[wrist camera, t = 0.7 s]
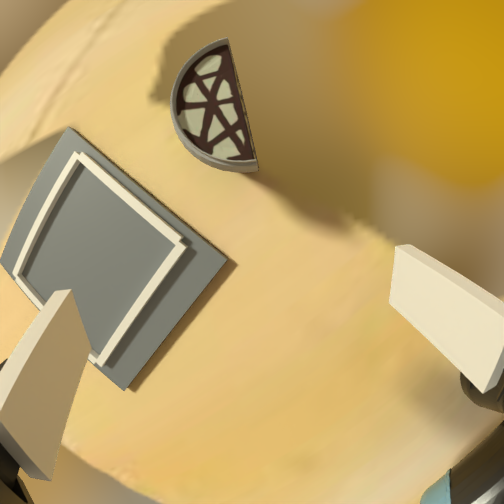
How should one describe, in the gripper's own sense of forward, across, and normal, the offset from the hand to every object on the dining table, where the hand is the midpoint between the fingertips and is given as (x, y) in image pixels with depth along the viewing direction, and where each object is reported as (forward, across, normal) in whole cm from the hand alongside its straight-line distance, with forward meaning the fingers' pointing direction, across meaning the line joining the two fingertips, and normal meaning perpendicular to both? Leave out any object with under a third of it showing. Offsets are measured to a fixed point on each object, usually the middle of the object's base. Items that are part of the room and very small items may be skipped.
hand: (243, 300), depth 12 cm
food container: (+25, -2, -6) cm, 26 cm away
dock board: (+25, +15, +6) cm, 30 cm away
